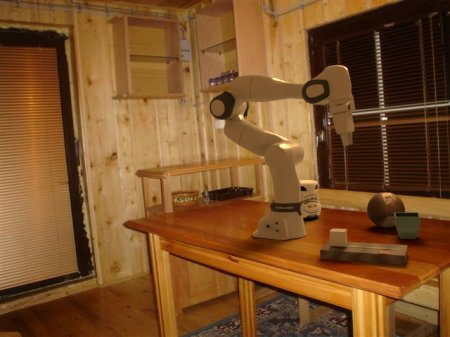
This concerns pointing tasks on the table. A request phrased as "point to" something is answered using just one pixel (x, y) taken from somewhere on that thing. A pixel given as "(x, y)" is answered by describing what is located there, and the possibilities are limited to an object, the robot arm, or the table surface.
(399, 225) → the flower pot
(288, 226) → the robot arm
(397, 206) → the brown leather ball
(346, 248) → the track board
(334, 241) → the fader
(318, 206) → the milk container
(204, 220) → the table surface
